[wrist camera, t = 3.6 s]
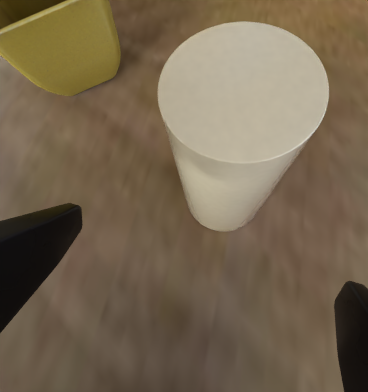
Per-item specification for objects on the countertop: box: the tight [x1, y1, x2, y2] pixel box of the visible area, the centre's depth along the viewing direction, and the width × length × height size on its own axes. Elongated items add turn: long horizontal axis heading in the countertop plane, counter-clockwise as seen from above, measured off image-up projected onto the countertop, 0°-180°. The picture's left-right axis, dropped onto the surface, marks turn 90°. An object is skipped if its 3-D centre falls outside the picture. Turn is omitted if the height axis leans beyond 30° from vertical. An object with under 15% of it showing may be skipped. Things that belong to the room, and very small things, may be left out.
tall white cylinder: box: [158, 22, 329, 231], centre depth 16 cm, size 6×6×13 cm
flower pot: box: [0, 0, 121, 96], centre depth 23 cm, size 9×9×9 cm
